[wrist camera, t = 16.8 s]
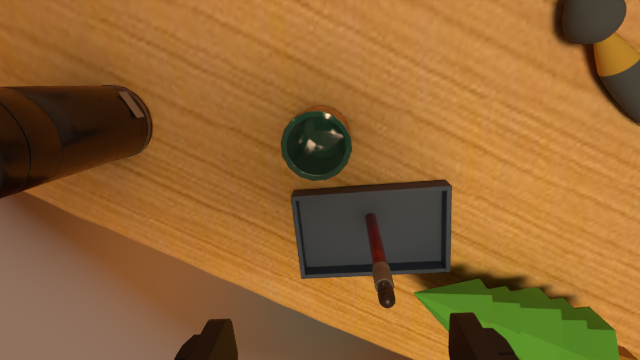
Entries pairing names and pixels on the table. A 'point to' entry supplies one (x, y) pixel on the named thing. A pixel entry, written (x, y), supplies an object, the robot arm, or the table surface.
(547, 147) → the table surface
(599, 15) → the paintbrush
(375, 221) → the brush
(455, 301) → the decorative tree
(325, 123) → the cup
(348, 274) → the tray
